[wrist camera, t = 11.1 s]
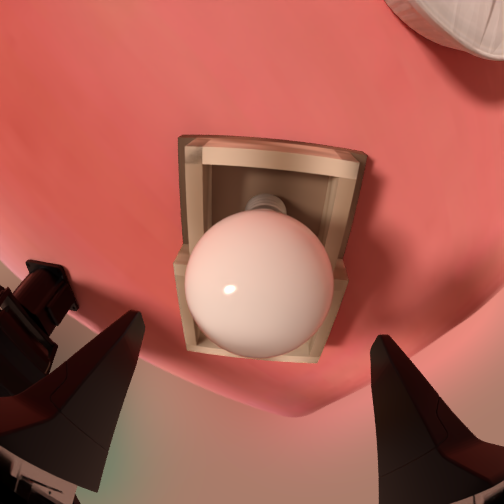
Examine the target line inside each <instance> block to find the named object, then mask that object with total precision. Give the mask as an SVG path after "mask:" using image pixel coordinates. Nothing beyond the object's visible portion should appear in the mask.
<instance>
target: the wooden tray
mask: <svg viewBox="0 0 504 504" xmlns="http://www.w3.org/2000/svg"><path fill="white" fill-rule="evenodd" d="M366 160H367V155H366V154H365V153H364V152H362V151H357V150H351V149H345V148H339V147H333V146H327V145H320V144H313V143H305V142H297V141H289V140H279V139H268V138H256V137H241V136H221V135H181V136H180V137H178V164H179V188H180V207H181V222H182V235H183V245H182V247H181V249H180V251H179V253H178V255H177V257H176V259H175V261H174V263H173V266H174V274H175V281H176V288H177V295H178V301H179V308H180V314H181V320H182V326H183V331H184V337H185V342H186V348H187V351H193V352H200V353H207V354H214V355H221V356H229V357H238V358H247V359H257V360H269V361H282V362H299V363H318V360H319V358H320V356H321V353H322V351H323V348H324V346H325V344H326V341H327V339H328V336H329V334H330V331H331V328H332V326H333V323H334V321H335V318H336V315H337V313H338V310H339V307H340V304H341V302H342V299H343V296H344V293H345V290H346V287H347V285H348V282H349V279H348V275H347V272H346V269H345V265H344V262H343V256H344V253H345V249H346V245H347V242H348V238H349V234H350V230H351V226H352V223H353V219H354V214H355V210H356V206H357V202H358V198H359V193H360V189H361V184H362V179H363V175H364V170H365V165H366ZM259 194H272V195H275V196H277V197H278V198H279V199H281V200H282V202H283V203H284V205H285V207H286V213H287V215H289V216H291V217H293V218H295V219H297V220H298V221H300V222H301V223H303V224H304V225H305V226H307V227H308V228H309V229H310V230H311V231H312V232H313V233H314V234H315V235H316V236H317V237H318V239H319V240H320V241H321V243H322V244H323V246H324V248H325V250H326V252H327V254H328V256H329V259H330V262H331V265H332V270H333V277H334V291H333V298H332V302H331V306H330V309H329V312H328V314H327V316H326V318H325V320H324V322H323V323H322V325H321V326H320V328H319V329H318V330H317V332H316V333H315V334H314V335H313V336H312V337H311V338H310V339H309V340H308V341H307V342H305V343H304V344H303V345H301V346H300V347H298V348H296V349H294V350H293V351H290V352H288V353H286V354H283V355H280V356H276V357H271V358H248V357H243V356H239V355H235V354H233V353H230V352H228V351H226V350H224V349H222V348H220V347H219V346H217V345H216V344H214V343H213V342H212V341H211V340H209V339H208V338H207V337H206V336H205V335H204V334H203V332H202V331H201V330H200V329H199V327H198V326H197V324H196V323H195V321H194V319H193V317H192V315H191V313H190V311H189V308H188V305H187V301H186V296H185V273H186V268H187V264H188V261H189V258H190V255H191V253H192V251H193V249H194V247H195V246H196V244H197V242H198V241H199V240H200V238H201V237H202V236H203V235H204V234H205V233H206V231H208V230H209V229H210V228H211V227H212V226H213V225H215V224H216V223H217V222H219V221H220V220H222V219H224V218H226V217H228V216H230V215H233V214H235V213H239V212H242V211H245V207H246V205H247V203H248V201H249V200H250V199H251V198H253V197H254V196H256V195H259Z"/></svg>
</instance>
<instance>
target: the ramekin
mask: <svg viewBox="0 0 504 504" xmlns="http://www.w3.org/2000/svg"><path fill="white" fill-rule="evenodd" d="M384 1H385V2H386V3H387V5H388V6H389V7H390V8H391V10H392V11H393V12H394V13H395V14H396V15H397V16H398V17H399V18H400V19H401V20H402V21H403V22H404V23H406V24H407V25H408V26H409V27H410V28H411V29H413V30H415V31H416V32H417V33H418V34H420V35H422V36H424V37H425V38H426V39H429V40H431V41H433V42H434V43H438V44H440V45H442V46H445V47H449V48H453V49H457V50H461V51H465V52H468V53H470V54H472V55H474V56H476V57H479V58H482V59H486V60H493V61H504V0H384Z"/></svg>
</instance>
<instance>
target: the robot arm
mask: <svg viewBox="0 0 504 504" xmlns="http://www.w3.org/2000/svg"><path fill="white" fill-rule="evenodd" d="M26 266H27V268H28V271H29V274H28V276H27V277H26V278H25V279H24V280H23V281H22V282H21V284H20V285H19V286H18V287H17V288H16V290H15V291H14V292H13V293H12V292H11V290H10V288H9V287H7V288H4V287H2V286H0V307H1V308H2V310H0V504H80V502H79V500H78V498H77V496H76V494H75V492H76V488H77V486H80V487H83V488H86V489H88V490H91V491H94V492H98V489H99V485H100V481H101V477H102V473H103V469H104V466H105V462H106V458H107V455H108V450H109V447H110V444H111V440H112V437H113V434H114V430H115V427H116V424H117V421H118V418H119V414H120V411H121V408H122V405H123V402H124V399H125V396H126V393H127V390H128V387H129V384H130V382H131V378H132V376H133V373H134V370H135V367H136V364H137V360H138V356H139V352H140V348H141V344H142V340H143V336H144V332H145V324H144V321H143V318H142V314H141V312H139V311H135V310H130V311H128V312H127V313H125V314H124V315H123V316H122V317H120V318H119V319H118V320H116V321H115V322H114V323H113V324H111V325H110V326H109V327H108V328H106V329H105V330H104V331H102V332H101V333H100V334H99V335H97V336H96V337H95V338H94V339H93V340H91V341H90V342H89V343H87V344H86V345H85V346H84V347H82V348H81V349H80V350H79V351H78V352H76V353H75V354H74V355H73V356H71V357H70V358H69V359H68V360H67V361H65V362H64V363H63V364H61V365H60V366H59V367H58V368H56V369H55V370H54V371H53V372H51V373H50V374H49V372H50V369H51V366H52V363H53V360H54V357H55V354H56V351H57V348H58V345H57V344H56V343H55V342H53V341H52V340H51V339H50V338H49V336H50V334H51V333H52V332H53V330H54V328H55V327H56V326H58V325H59V324H60V323H61V321H62V319H63V318H64V316H65V315H66V313H67V312H68V310H73V311H77V310H78V309H79V307H78V304H77V302H76V300H75V297H74V295H73V293H72V290H71V288H70V285H69V283H68V280H67V278H66V275H65V272H64V270H63V268H62V267H61V266H59V265H54V264H49V263H44V262H38V261H33V260H27V261H26ZM370 360H371V388H372V397H373V406H374V414H375V424H376V436H377V451H378V473H379V504H504V447H503V446H499V445H495V444H491V443H487V442H484V441H481V440H480V439H478V438H477V437H476V436H474V434H473V433H472V432H471V431H470V430H469V429H468V428H467V427H466V426H465V425H464V424H463V423H462V422H461V421H460V419H459V418H458V417H457V416H456V415H455V414H454V413H453V412H452V411H451V409H450V408H449V407H448V406H447V405H446V403H445V402H444V401H443V400H442V398H441V397H439V395H438V393H437V392H436V391H435V390H434V388H433V387H432V386H431V385H430V384H429V382H428V381H427V380H426V378H425V377H424V376H423V375H422V374H421V372H420V371H419V370H418V369H417V367H416V366H415V365H414V364H413V363H412V361H411V360H410V359H409V358H408V357H407V355H406V354H405V353H404V352H403V351H402V350H401V348H400V347H399V346H398V345H397V344H396V343H395V341H394V340H393V339H392V338H391V337H390V336H389V335H378V336H377V338H376V340H375V342H374V343H373V345H372V347H371V350H370Z"/></svg>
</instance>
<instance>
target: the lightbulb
mask: <svg viewBox="0 0 504 504" xmlns="http://www.w3.org/2000/svg"><path fill="white" fill-rule="evenodd" d="M333 291H334V277H333V270H332V265H331V262H330V259H329V256H328V254H327V252H326V250H325V248H324V246H323V244H322V243H321V241H320V240H319V239H318V237H317V236H316V235H315V234H314V233H313V232H312V231H311V230H310V229H309V228H308V227H307V226H305V225H304V224H303V223H301V222H300V221H298V220H297V219H295V218H293V217H291V216H289V215H287V213H286V207H285V205H284V203H283V202H282V200H281V199H279V198H278V197H277V196H275V195H272V194H259V195H256V196H254V197H253V198H251V199H250V200H249V201H248V203H247V205H246V207H245V211H242V212H239V213H235V214H233V215H230V216H228V217H226V218H224V219H222V220H220V221H219V222H217V223H216V224H215V225H213V226H212V227H211V228H210V229H209V230H208V231H206V233H205V234H204V235H203V236H202V237H201V238H200V240H199V241H198V242H197V244H196V246H195V247H194V249H193V251H192V253H191V255H190V258H189V261H188V264H187V268H186V273H185V296H186V301H187V305H188V308H189V311H190V313H191V315H192V317H193V319H194V321H195V323H196V324H197V326H198V327H199V329H200V330H201V331H202V332H203V334H204V335H205V336H206V337H207V338H208V339H209V340H211V341H212V342H213V343H214V344H216V345H217V346H219V347H220V348H222V349H224V350H226V351H228V352H230V353H233V354H235V355H239V356H243V357H248V358H271V357H276V356H280V355H283V354H286V353H288V352H290V351H293V350H294V349H296V348H298V347H300V346H301V345H303V344H304V343H305V342H307V341H308V340H309V339H310V338H311V337H312V336H313V335H314V334H315V333H316V332H317V330H318V329H319V328H320V326H321V325H322V323H323V322H324V320H325V318H326V316H327V314H328V312H329V309H330V306H331V302H332V298H333Z"/></svg>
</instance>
